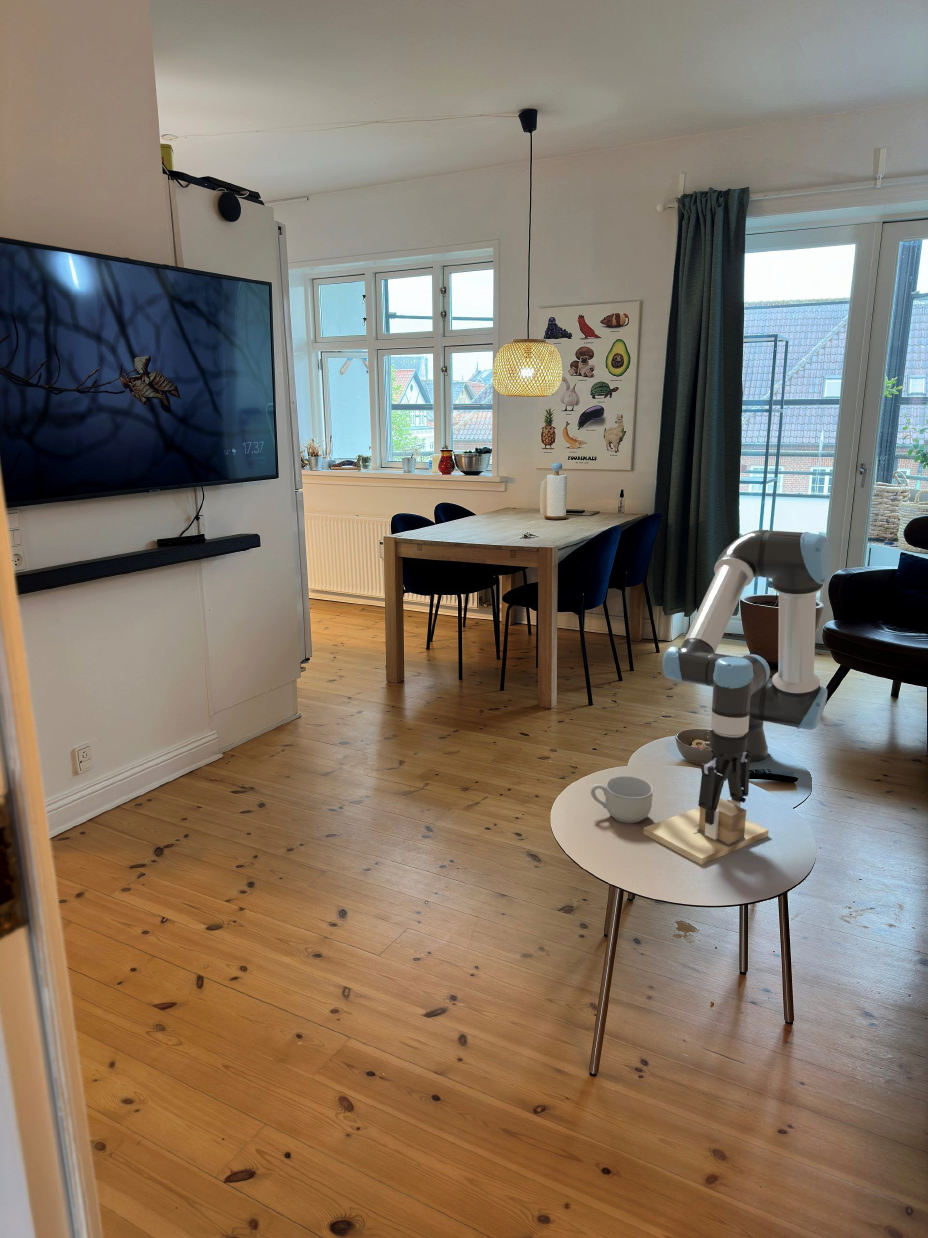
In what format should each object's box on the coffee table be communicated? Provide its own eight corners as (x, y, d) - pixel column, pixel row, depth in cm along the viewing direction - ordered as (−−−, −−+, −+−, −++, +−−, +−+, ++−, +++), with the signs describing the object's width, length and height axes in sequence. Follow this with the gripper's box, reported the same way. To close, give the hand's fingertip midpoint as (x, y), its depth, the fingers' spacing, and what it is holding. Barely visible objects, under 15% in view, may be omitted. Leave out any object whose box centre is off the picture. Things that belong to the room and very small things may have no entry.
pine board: (709, 809, 191) (710, 803, 191) (768, 836, 178) (768, 829, 178) (643, 834, 179) (643, 827, 179) (701, 865, 166) (701, 858, 166)
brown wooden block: (713, 825, 180) (715, 795, 178) (745, 840, 173) (747, 810, 171) (697, 831, 177) (699, 802, 175) (728, 847, 170) (731, 816, 168)
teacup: (655, 811, 190) (657, 779, 188) (647, 832, 180) (649, 798, 178) (596, 801, 195) (597, 770, 193) (585, 821, 185) (586, 788, 183)
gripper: (743, 717, 178) (735, 814, 183) (683, 735, 167) (677, 837, 173) (772, 727, 172) (763, 827, 177) (713, 746, 161) (705, 852, 167)
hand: (721, 832), depth 175 cm, fingers open, 6 cm apart
